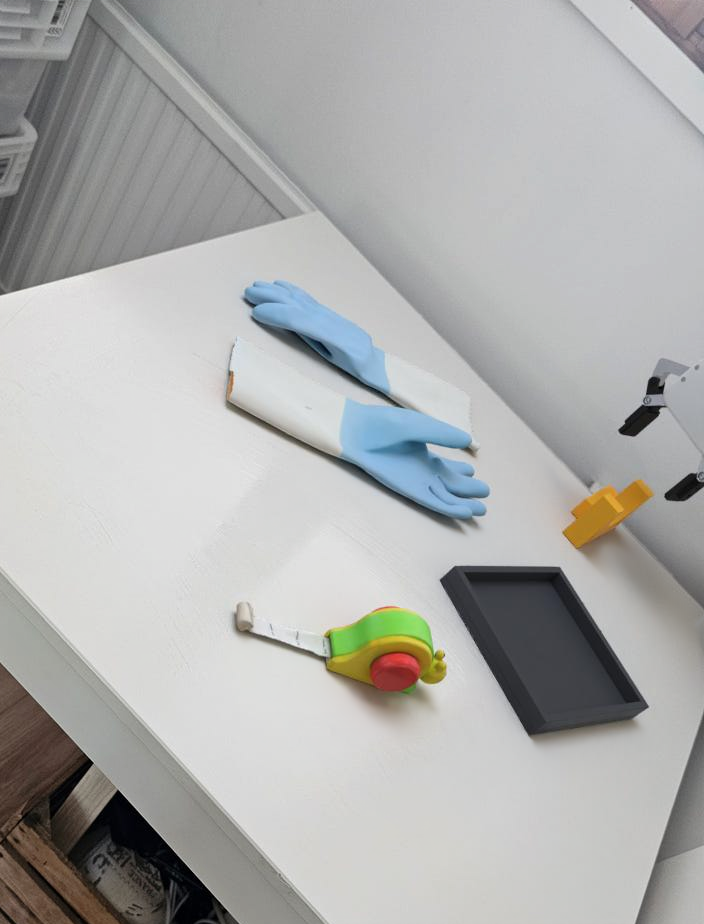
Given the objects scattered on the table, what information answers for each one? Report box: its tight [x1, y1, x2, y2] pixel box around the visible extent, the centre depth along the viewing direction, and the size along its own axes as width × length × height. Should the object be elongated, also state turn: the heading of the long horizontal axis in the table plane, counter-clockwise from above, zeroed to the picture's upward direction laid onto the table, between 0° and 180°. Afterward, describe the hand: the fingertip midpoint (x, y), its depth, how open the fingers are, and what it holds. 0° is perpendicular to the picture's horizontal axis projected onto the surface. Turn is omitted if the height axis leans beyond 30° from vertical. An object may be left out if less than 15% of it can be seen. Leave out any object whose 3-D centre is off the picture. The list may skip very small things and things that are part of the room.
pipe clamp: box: [562, 477, 655, 549], centre depth 123 cm, size 12×4×6 cm, turn 132°
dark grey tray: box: [439, 565, 650, 736], centre depth 102 cm, size 18×18×2 cm
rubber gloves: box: [226, 279, 491, 520], centre depth 112 cm, size 27×33×6 cm
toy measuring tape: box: [236, 601, 448, 694], centre depth 84 cm, size 6×20×7 cm, turn 91°
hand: (647, 465), depth 119 cm, fingers open, 9 cm apart
